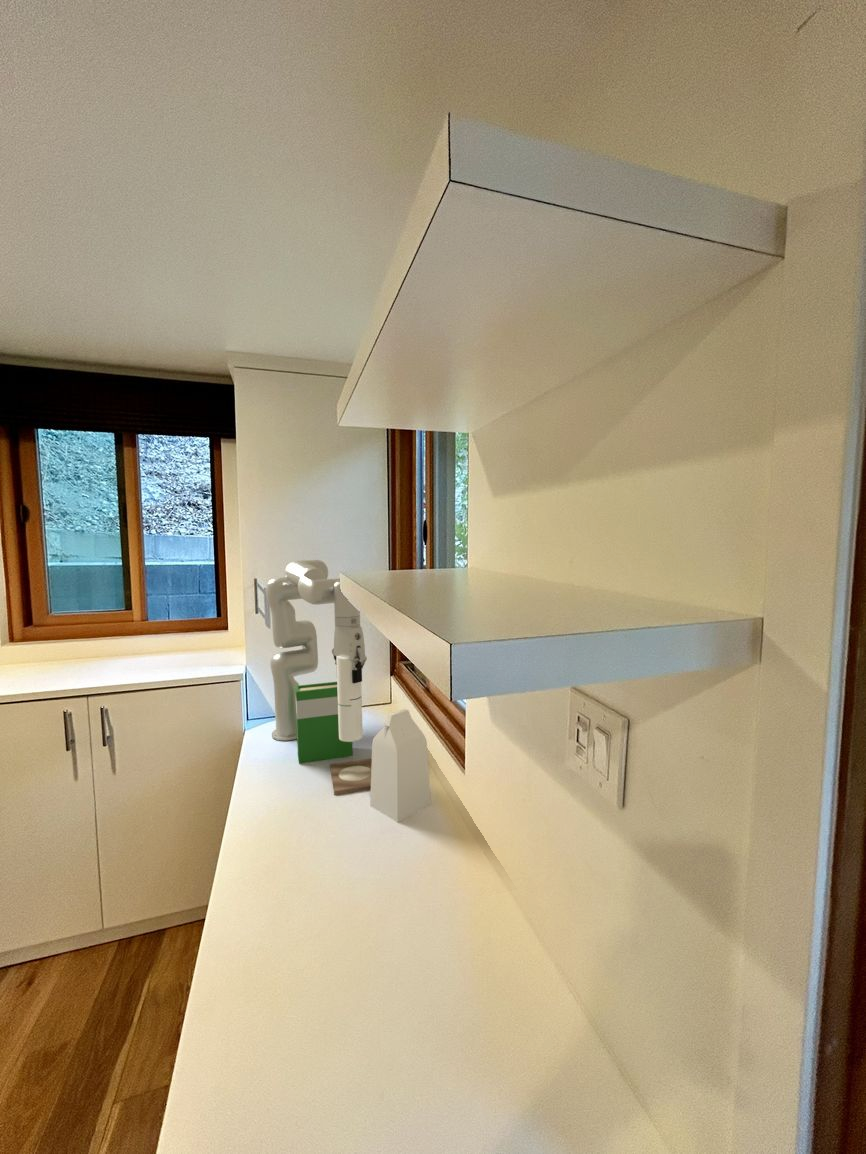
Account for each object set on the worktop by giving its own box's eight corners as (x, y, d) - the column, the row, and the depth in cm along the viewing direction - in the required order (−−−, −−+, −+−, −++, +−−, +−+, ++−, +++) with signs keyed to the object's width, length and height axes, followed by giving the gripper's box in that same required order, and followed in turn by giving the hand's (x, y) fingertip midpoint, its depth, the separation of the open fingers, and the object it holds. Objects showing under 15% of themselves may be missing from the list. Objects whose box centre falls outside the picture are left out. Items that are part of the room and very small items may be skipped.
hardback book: (349, 747, 174) (347, 680, 172) (352, 755, 167) (350, 686, 165) (297, 754, 168) (295, 685, 167) (298, 764, 161) (296, 691, 160)
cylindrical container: (365, 739, 149) (363, 657, 147) (342, 743, 146) (339, 659, 144) (359, 731, 155) (356, 652, 153) (336, 735, 152) (334, 655, 150)
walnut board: (330, 767, 158) (330, 763, 158) (373, 761, 162) (373, 757, 162) (334, 794, 141) (334, 790, 141) (382, 787, 145) (382, 783, 145)
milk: (403, 790, 143) (401, 702, 141) (430, 804, 135) (429, 711, 133) (370, 805, 135) (367, 712, 133) (397, 822, 127) (395, 723, 125)
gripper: (375, 623, 144) (377, 682, 146) (341, 617, 157) (342, 672, 158) (354, 626, 139) (356, 688, 140) (320, 620, 151) (322, 677, 153)
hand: (349, 679), depth 149 cm, fingers closed on cylindrical container, 7 cm apart
